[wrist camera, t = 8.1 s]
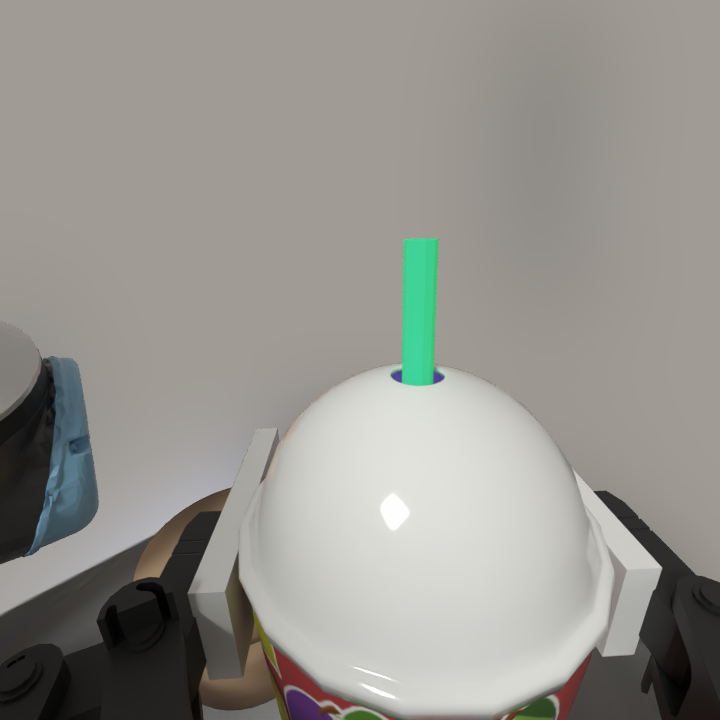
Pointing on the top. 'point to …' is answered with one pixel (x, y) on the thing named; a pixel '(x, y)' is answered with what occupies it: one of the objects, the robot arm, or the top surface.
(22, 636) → the top surface
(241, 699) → the tan muffin-shaped cylinder
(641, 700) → the top surface
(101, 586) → the top surface
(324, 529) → the smoothie
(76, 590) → the top surface
